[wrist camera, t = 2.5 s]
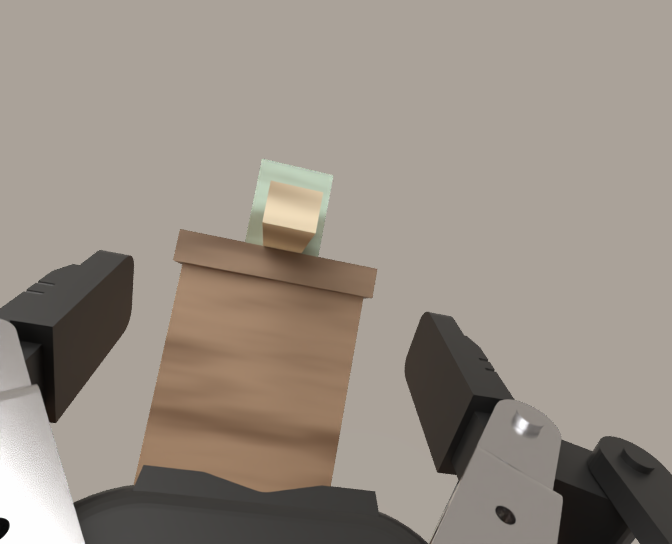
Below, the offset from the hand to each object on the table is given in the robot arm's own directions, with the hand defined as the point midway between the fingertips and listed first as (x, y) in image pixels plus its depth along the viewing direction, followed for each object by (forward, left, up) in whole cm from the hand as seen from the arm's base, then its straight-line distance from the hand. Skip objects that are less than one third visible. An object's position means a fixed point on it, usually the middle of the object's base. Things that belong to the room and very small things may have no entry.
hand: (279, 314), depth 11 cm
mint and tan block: (+7, +12, +4) cm, 15 cm away
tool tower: (+10, +17, -28) cm, 35 cm away
